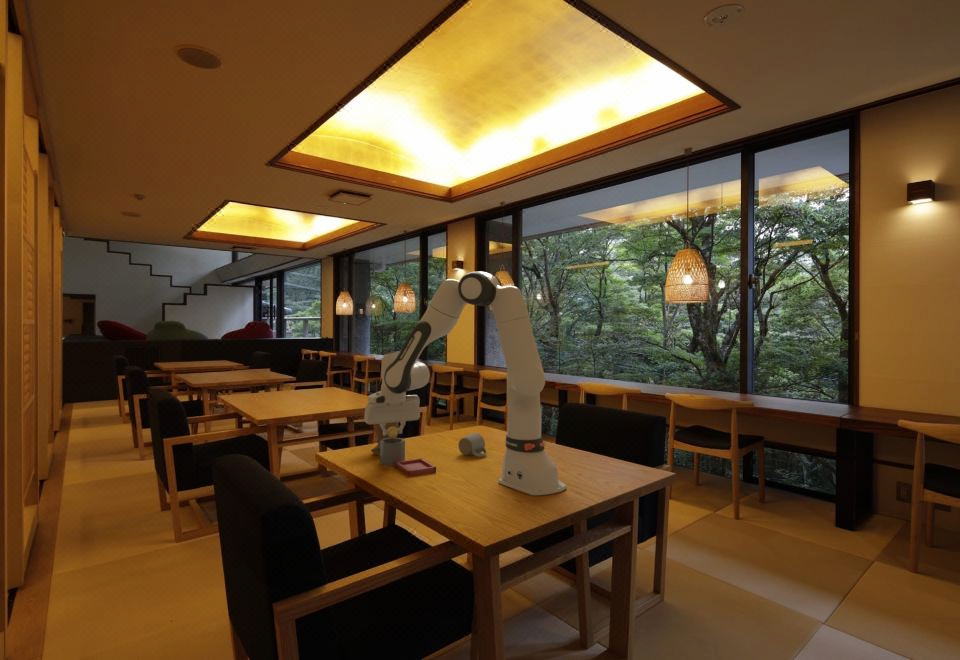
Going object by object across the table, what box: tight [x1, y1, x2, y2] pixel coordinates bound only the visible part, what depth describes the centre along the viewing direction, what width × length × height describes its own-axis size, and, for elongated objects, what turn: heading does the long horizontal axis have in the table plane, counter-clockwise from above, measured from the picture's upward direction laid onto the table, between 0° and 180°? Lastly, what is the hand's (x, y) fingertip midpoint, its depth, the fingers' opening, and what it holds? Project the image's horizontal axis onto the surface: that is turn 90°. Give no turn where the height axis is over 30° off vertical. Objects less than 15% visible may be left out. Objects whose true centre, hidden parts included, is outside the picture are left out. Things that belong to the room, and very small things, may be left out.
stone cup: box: [370, 422, 400, 457], centre depth 189 cm, size 15×12×15 cm
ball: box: [388, 426, 399, 438], centre depth 175 cm, size 4×4×4 cm
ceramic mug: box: [458, 432, 487, 459], centre depth 187 cm, size 11×8×8 cm
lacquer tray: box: [394, 457, 437, 478], centre depth 167 cm, size 12×10×2 cm
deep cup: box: [379, 437, 406, 467], centre depth 175 cm, size 8×8×8 cm
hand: (392, 434), depth 175 cm, fingers closed on ball, 4 cm apart
